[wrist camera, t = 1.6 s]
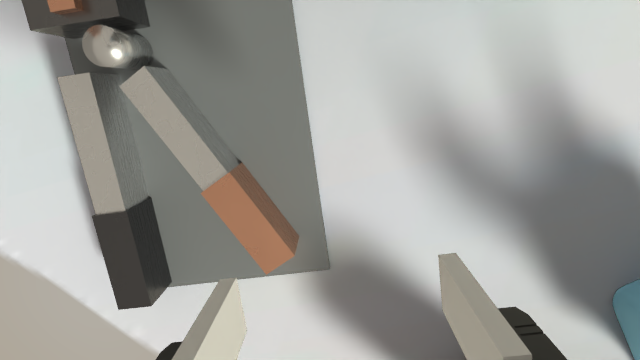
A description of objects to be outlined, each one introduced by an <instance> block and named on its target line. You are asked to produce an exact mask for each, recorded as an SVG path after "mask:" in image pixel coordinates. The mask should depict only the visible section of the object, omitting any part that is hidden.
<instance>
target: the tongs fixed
mask: <svg viewBox="0 0 640 360" xmlns="http://www.w3.org/2000/svg"><path fill="white" fill-rule="evenodd" d="M22 3H23V6H24V10H25V13H26V17H27V20H28V24H29V27H30V30H31V31H36V32H41V33H46V34H51V35H56V36H61V37H66V38H71V39H77V38H83V36H84V34H85V32H86V31H87V30H88V29H89V28H90V27H92V26H94V25H105V26H108V27H112V28H115V29H119V30H122V31H128V30H134V29H140V28H147V27H150V23H149V18H148V14H147V9H146V5H145V0H22ZM57 78H58V82H59V85H60V89H61V93H62V96H63V100H64V103H65V107H66V110H67V114H68V117H69V121H70V125H71V128H72V132H73V135H74V139H75V142H76V146H77V150H78V153H79V157H80V160H81V164H82V167H83V171H84V174H85V178H86V182H87V185H88V189H89V192H90V196H91V199H92V203H93V206H94V210H95V215H93V216H92V218H93V221H94V225H95V228H96V232H97V235H98V239H99V242H100V246H101V250H102V253H103V257H104V260H105V264H106V267H107V271H108V274H109V278H110V281H111V285H112V288H113V292H114V295H115V299H116V302H117V306H118V309H119V310H120V309H129V308H138V307H148V306H152V305H153V304H154V302H155V301H156V300H157V299H158V298H159V297H160V295H161V294H162V293H163V292H164V291H165V290H166V288H167V287H168V286H169V285H170V284H171V282H172V280H171V276H170V272H169V267H168V263H167V259H166V255H165V251H164V247H163V243H162V239H161V235H160V231H159V227H158V222H157V218H156V214H155V210H154V206H153V202H152V198H151V197H150V198H149V195H148V191H147V187H146V182H145V178H144V174H143V170H142V166H141V162H140V158H139V154H138V150H137V146H136V142H135V138H134V134H133V130H132V126H131V121H130V117H129V113H128V109H127V105H126V101H125V97H124V93H123V91H122V90H121V88H120V87H119V86H120V85H121V81H120V77H119V75H116V74H103V73H83V74H76V75H69V76H63V77H57Z"/></svg>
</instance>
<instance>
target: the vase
mask: <svg viewBox="0 0 640 360" xmlns="http://www.w3.org/2000/svg"><path fill="white" fill-rule="evenodd" d="M613 308H614V311H615V314H616V316H617V319H618V321H619V324H620V326H621V328H622V331H623V333H624V336H625V338H626V340H627V343H628V345H629V348H630V350H631V352H632V355H633V357H634V360H640V279H639V280H636V281H634V282H632V283H629V284H627V285H625V286H623V287H621V288H619V289H618V290H617V291H616V293H615V295H614V297H613Z"/></svg>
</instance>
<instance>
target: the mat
mask: <svg viewBox="0 0 640 360" xmlns="http://www.w3.org/2000/svg"><path fill="white" fill-rule="evenodd" d="M145 5H146V9H147V14H148V18H149V23H150V27H147V28H140V29H134V30H128V31H126V32H129V33H133V34H136V35H140V36H142V37H144V38H145V39H146V40H147V41H148V42H149V43H150V45H151V47H152V50H153V59H152V62H151V64H150V65H149V67H157V68H164V69H168V70H169V72H170V73H171V74H172V76H173V77H174V78H175V79H176V81H177V82H178V83H179V85H180V86H181V87H182V89H183V90H184V91H185V92H186V94H187V95H188V96H189V98H190V99H191V100H192V101H193V103H194V104H195V105H196V107H197V108H198V109H199V111H200V112H201V113H202V114H203V116H204V117H205V118H206V120H207V121H208V122H209V123H210V125H211V126H212V127H213V129H214V130H215V131H216V133H217V134H218V135H219V136H220V138H221V139H222V140H223V142H224V143H225V144H226V145H227V147H228V148H229V149H230V151H231V152H232V153H233V155H234V156H235V157H236V158H237V160H238V161H239V162H240V163H243V164H244V165H245V166H246V168H247V169H248V170H249V172H250V173H251V174H252V176H253V177H254V178H255V179H256V181H257V182H258V183H259V185H260V186H261V187H262V189H263V190H264V191H265V192H266V194H267V195H268V196H269V198H270V199H271V200H272V201H273V203H274V204H275V205H276V207H277V208H278V209H279V211H280V212H281V213H282V214H283V216H284V217H285V218H286V220H287V221H288V222H289V224H290V225H291V226H292V227H293V229H294V230H295V231H296V233H297V234H298V235H299V240H298V244H297V249H296V253H295V256H294V257H292V258H291V259H289V260H288V261H286V262H285V263H283V264H282V265H280V266H279V267H277V268H276V269H274V270H273V271H271V272H270V273H268V274H267V275H266V274H265V273H264V271H263V270H262V269H261V268H260V266H259V265H258V264H257V263H256V261H255V260H254V259H253V258H252V256H251V255H250V254H249V253H248V251H247V250H246V249H245V248H244V247H243V245H242V244H241V243H240V242H239V240H238V239H237V238H236V237H235V235H234V234H233V233H232V232H231V230H230V229H229V228H228V227H227V225H226V224H225V223H224V222H223V221H222V219H221V218H220V217H219V216H218V214H217V213H216V212H215V211H214V209H213V208H212V207H211V206H210V204H209V203H208V202H207V201H206V199H205V198H204V197H203V196H202V195H201V193H202V192H203V190H202V189H201V188H200V186H199V185H198V184H197V183H196V181H195V180H194V179H193V178H192V176H191V175H190V174H189V173H188V172H187V170H186V169H185V168H184V167H183V165H182V164H181V163H180V162H179V160H178V159H177V158H176V157H175V155H174V154H173V153H172V152H171V150H170V149H169V148H168V147H167V145H166V144H165V143H164V142H163V140H162V139H161V138H160V137H159V135H158V134H157V133H156V132H155V131H154V129H153V128H152V127H151V126H150V124H149V123H148V122H147V121H146V119H145V118H144V117H143V116H142V114H141V113H140V112H139V111H138V109H137V108H136V107H135V106H134V104H133V103H132V102H131V101H130V99H129V98H128V97H127V96H126V94H125V93H124V92H123V93H124V97H125V101H126V105H127V109H128V113H129V117H130V121H131V126H132V130H133V134H134V138H135V142H136V146H137V150H138V154H139V158H140V162H141V166H142V170H143V174H144V178H145V182H146V187H147V191H148V195H149V198H150V197H151V198H152V202H153V206H154V210H155V214H156V218H157V222H158V227H159V231H160V235H161V239H162V243H163V247H164V251H165V255H166V259H167V263H168V267H169V272H170V276H171V280H172V282H171V284H170V285H169V286H168V287H174V286H183V285H192V284H201V283H210V282H219V280H220V279H228V278H237V279H246V278H255V277H265V276H274V275H283V274H292V273H301V272H310V271H319V270H328V269H330V266H329V259H328V252H327V245H326V238H325V231H324V224H323V217H322V210H321V202H320V195H319V188H318V181H317V174H316V167H315V160H314V153H313V146H312V139H311V132H310V125H309V118H308V111H307V104H306V97H305V90H304V83H303V76H302V69H301V62H300V55H299V48H298V41H297V34H296V27H295V20H294V13H293V6H292V0H145ZM82 39H83V38H77V39H71V38H66V37H65V40H66V44H67V47H68V51H69V55H70V58H71V62H72V66H73V69H74V73H75V75H76V74H83V73H103V74H116V75H119V77H120V81H121V85H122V84H123V83H124V82H125V81H126V80H128V79H129V78H130V77H131V76H132V75H134V74H135V73H136V72H137V71H138V70H130V69H121V68H111V67H102V66H98V65H95V64H94V63H92V62H91V61H90V60H89V59H88V58H87V57H86V55H85V53H84V51H83V47H82Z"/></svg>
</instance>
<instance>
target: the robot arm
mask: <svg viewBox="0 0 640 360" xmlns="http://www.w3.org/2000/svg"><path fill="white" fill-rule="evenodd" d="M438 257H439V271H440V284H441V297H442V310H443V312H444V314H445V317H446V319H447V321H448V323H449V325H450V327H451V329H452V331H453V333H454V335H455V337H456V339H457V341H458V343H459V345H460V347H461V349H462V351H463V353H464V355H465V357H466V359H467V360H567V359H566V358H565V357H564V355H563V354H562V353H561V352H560V351H559V350H558V348H557V347H556V346H555V345H554V344H553V343H552V342H551V340H550V339H549V338H548V337H547V336H546V335H545V334H543V331H542V330H541V329H540V328H539V327H538V326H537V325H536V323H535V322H534V321H533V320H532V318H531V317H530V316H529V315H528V314H526V313H525V312H523V311H521V310H520V309H518V308H516V307H508V308H499V309H498V308H497V307H496V306H495V304H494V303H493V302H492V300H491V299H490V298H489V296H488V295H487V294H486V292H485V291H484V290H483V288H482V287H481V286H480V284H479V283H478V282H477V280H476V279H475V278H474V276H473V275H472V274H471V272H470V271H469V270H468V268H467V267H466V266H465V264H464V263H463V262H462V260H461V259H460V258H459V256H458V255H457V254H456V253H451V254H442V255H438ZM246 332H247V327H246V322H245V317H244V313H243V308H242V303H241V298H240V293H239V288H238V283H237V278H228V279H220V280H219V282H218V284H217V285H216V287H215V289H214V290H213V292H212V294H211V295H210V297H209V299H208V300H207V302H206V304H205V305H204V307H203V309H202V310H201V312H200V314H199V315H198V317H197V319H196V320H195V322H194V323H193V325H192V327H191V328H190V330H189V332H188V333H187V335H186V337H185V338H184V340H183V342H174V343H171V344H170V345H169V346H168V347H166V348H165V349H164V350H163V351H162V352H161V353H160V354H159V356H158V357H157V359H156V360H237V357H238V354H239V352H240V349H241V346H242V343H243V341H244V338H245V335H246Z"/></svg>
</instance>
